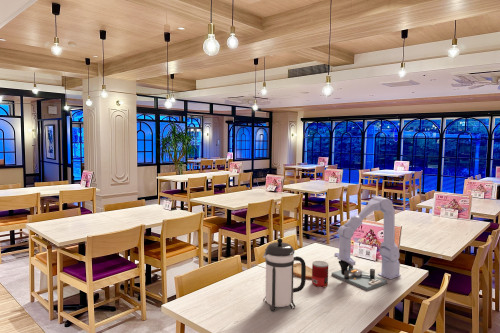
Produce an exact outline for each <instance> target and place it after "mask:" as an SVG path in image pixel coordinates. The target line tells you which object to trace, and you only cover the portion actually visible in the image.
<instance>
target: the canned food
mask: <svg viewBox="0 0 500 333" xmlns="http://www.w3.org/2000/svg"><path fill="white" fill-rule="evenodd" d="M311 268H312V280H311V284H312V285H313V286H314V287H317V288H326V287H328V283H329V262H326V261H324V260H315V261H312V263H311Z"/></svg>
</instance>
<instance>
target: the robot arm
mask: <svg viewBox="0 0 500 333" xmlns="http://www.w3.org/2000/svg"><path fill="white" fill-rule="evenodd" d="M376 211H377V212H379V211H380V212H382V213H383V242H381V243H380V247H379V251H378V252H379V254H380V256H381V272H378V273H377V275H379V276H381V277H384V278H387V279H389V280H393V279H395V278H398V277H400V276H401V274H400V267H401V264H400V260H399V258H400V255H401V253H400V251H399V246H398V245H397V244H396V242H395V238H396V237H395V235H396V234H395V232H396V231H395V230H396V229H395V225H396V224H395V223H396V222H395V218H396V217H395V216H396V215H395V207H394V204H393V201H392V200H390V198H387V197H382V196H379V195H375V196H374V195H373V196H372V198H371V199H369V200H368V203H367V204H366V205H365V206H364V207H363V209H362V210H361V211H360V212H358V214H357V215H353V216H350V219H348V220H347V222H345V223H344V224H343V225H340V226H339V227H338V229H337V234H338V237H339V239H338V240H339V241H338V242H339V244H338V245H339V247H338V249H339V250H338V252H334V256H333V257H334V258H337V260H338V264H339V266H340V270H341V273H342V275H344V270H345V269H347V268H349V264H351V265H352V266H353V267H354V266H356V261H355V260H354V259H353V258H352V257H351V252H352V251H351V247H352V245H351V244H352V238H353V236H354V233H355V231H356V230H357V229H358V228H359V227H360V226H361V225H362V224H363V220H364V219H366V218H367V217H368V216H369V215H371V213H373V212H376Z"/></svg>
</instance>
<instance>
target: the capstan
mask: <svg viewBox="0 0 500 333" xmlns="http://www.w3.org/2000/svg"><path fill="white" fill-rule="evenodd" d="M348 268H349V270H351V274H349V270H347V269H345V270H344V279H349V277H352V276H353V277H362V276H366V277H370V278H371V279H375V276H376V275H375V274H376V269H374V268H370V269H369V273H368V274H363V273H362V271H363V270H361V269H358V268H355V269H353V268H354V265H353V266H352V265H351V264H349V266H348ZM369 274H370V275H369Z"/></svg>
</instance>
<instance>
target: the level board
mask: <svg viewBox="0 0 500 333" xmlns="http://www.w3.org/2000/svg"><path fill="white" fill-rule="evenodd" d="M353 269H356V268H355V267H353ZM347 270H349V267H348V268H347ZM361 271H362V273H363V274H369V275H370V273H368V272H365V271H363V270H361ZM349 274H351V270H349ZM331 276H332V277H335V278H337V279H339V280H342V281H344V282H346V283H349V284H350V285H353V286H356V287H357V288H360V289H361V290H364V291H366V292H367V291H370V290H373V289H376V288H378V287H382V286H384V285H387V284H388V280H387V279H383V278H382V277H379V276H376V275H375V279H371V278H370V277H366V276H362V277H353V276H352V277H349V279H344V275H342V273H341V269H340V270H337V271H332V272H331Z"/></svg>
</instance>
